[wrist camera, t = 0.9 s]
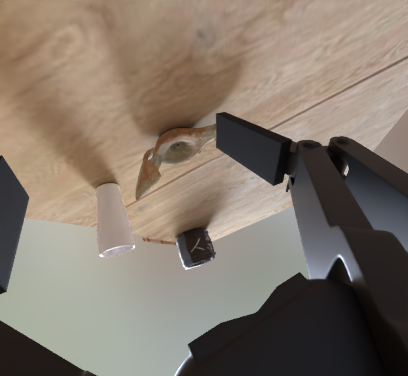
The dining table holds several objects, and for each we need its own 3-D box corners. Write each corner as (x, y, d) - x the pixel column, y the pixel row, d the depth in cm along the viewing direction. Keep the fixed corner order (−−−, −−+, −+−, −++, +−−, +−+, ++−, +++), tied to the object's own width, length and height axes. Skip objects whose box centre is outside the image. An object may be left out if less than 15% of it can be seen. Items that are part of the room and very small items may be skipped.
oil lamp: (114, 143, 37) (124, 192, 33) (227, 98, 36) (251, 141, 32) (137, 166, 45) (147, 207, 41) (230, 129, 44) (249, 167, 40)
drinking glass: (123, 178, 47) (136, 242, 41) (123, 193, 52) (134, 251, 46) (89, 181, 44) (98, 251, 38) (92, 197, 49) (100, 260, 43)
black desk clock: (212, 228, 116) (222, 256, 110) (185, 240, 121) (193, 268, 114) (198, 224, 100) (209, 256, 94) (168, 239, 105) (177, 270, 98)
